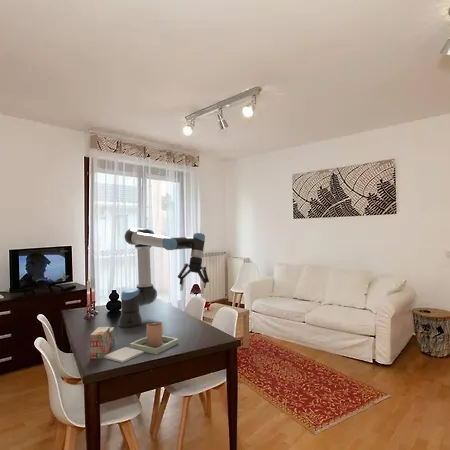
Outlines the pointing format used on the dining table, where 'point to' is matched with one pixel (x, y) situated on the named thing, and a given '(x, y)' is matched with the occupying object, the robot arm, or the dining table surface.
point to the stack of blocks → (101, 342)
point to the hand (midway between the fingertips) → (191, 292)
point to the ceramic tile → (123, 354)
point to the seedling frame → (157, 350)
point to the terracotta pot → (154, 334)
